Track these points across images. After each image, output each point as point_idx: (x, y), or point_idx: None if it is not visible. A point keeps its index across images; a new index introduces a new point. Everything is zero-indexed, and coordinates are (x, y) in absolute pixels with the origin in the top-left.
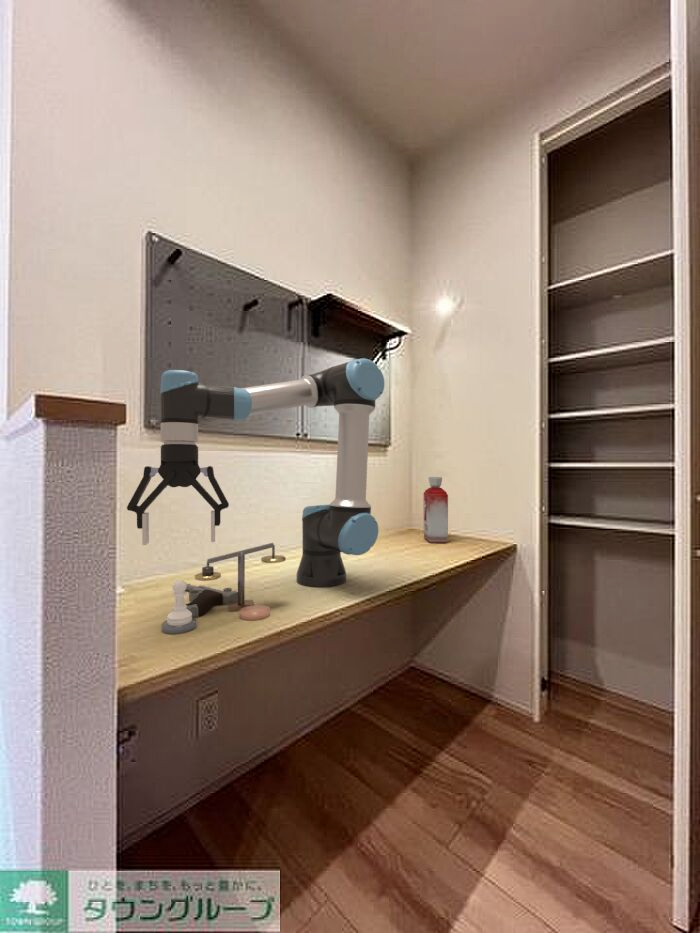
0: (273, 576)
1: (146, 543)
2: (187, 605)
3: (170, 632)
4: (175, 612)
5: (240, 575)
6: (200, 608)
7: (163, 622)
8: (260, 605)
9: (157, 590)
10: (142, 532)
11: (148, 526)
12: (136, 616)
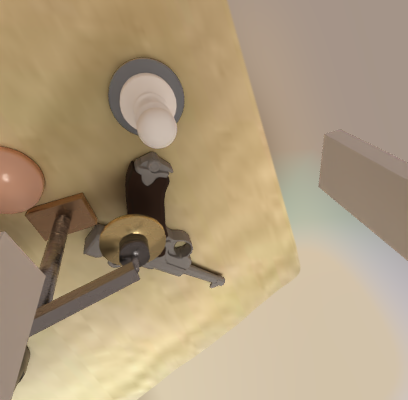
0: (86, 349)
1: (327, 141)
2: (163, 177)
3: (150, 58)
4: (153, 91)
5: (47, 261)
6: (130, 170)
7: (182, 99)
8: (4, 211)
9: (254, 264)
10: (392, 155)
11: (378, 229)
12: (252, 157)
